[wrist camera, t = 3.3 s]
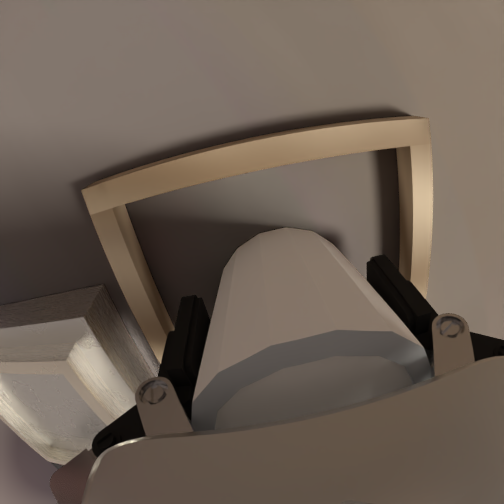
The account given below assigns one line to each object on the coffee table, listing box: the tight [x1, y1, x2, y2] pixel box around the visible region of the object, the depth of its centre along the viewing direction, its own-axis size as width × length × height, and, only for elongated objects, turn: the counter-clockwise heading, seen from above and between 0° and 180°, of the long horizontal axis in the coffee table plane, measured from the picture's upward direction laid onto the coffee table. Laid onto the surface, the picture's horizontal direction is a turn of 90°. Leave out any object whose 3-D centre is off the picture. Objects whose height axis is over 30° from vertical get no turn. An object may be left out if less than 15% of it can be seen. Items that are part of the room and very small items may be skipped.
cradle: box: [81, 116, 433, 364], centre depth 13 cm, size 12×13×1 cm
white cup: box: [191, 227, 431, 431], centre depth 10 cm, size 7×7×7 cm
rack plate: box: [0, 284, 155, 465], centre depth 15 cm, size 14×14×4 cm
